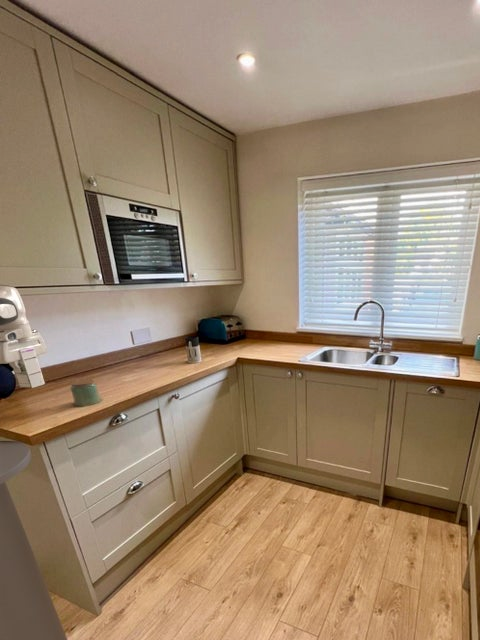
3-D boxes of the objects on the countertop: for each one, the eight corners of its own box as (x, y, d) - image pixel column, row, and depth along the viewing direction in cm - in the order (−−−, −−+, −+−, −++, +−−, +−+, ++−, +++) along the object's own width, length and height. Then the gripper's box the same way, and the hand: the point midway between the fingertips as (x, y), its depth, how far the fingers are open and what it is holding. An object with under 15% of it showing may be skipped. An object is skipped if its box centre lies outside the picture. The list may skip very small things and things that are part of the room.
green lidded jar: (92, 406, 135) (86, 385, 131) (70, 406, 134) (64, 385, 131) (104, 398, 143) (99, 378, 140) (83, 398, 143) (78, 378, 140)
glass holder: (203, 359, 209) (200, 335, 204) (199, 365, 196) (196, 339, 191) (188, 360, 208) (185, 336, 202) (184, 365, 195) (180, 340, 189)
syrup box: (45, 383, 127) (35, 346, 123) (31, 388, 122) (19, 349, 117) (32, 383, 128) (21, 346, 123) (18, 388, 123) (5, 349, 118)
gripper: (29, 329, 128) (39, 363, 133) (-19, 337, 109) (-5, 377, 113) (46, 328, 128) (55, 363, 133) (0, 336, 109) (13, 377, 113)
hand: (27, 370), depth 123 cm, fingers closed on syrup box, 6 cm apart
